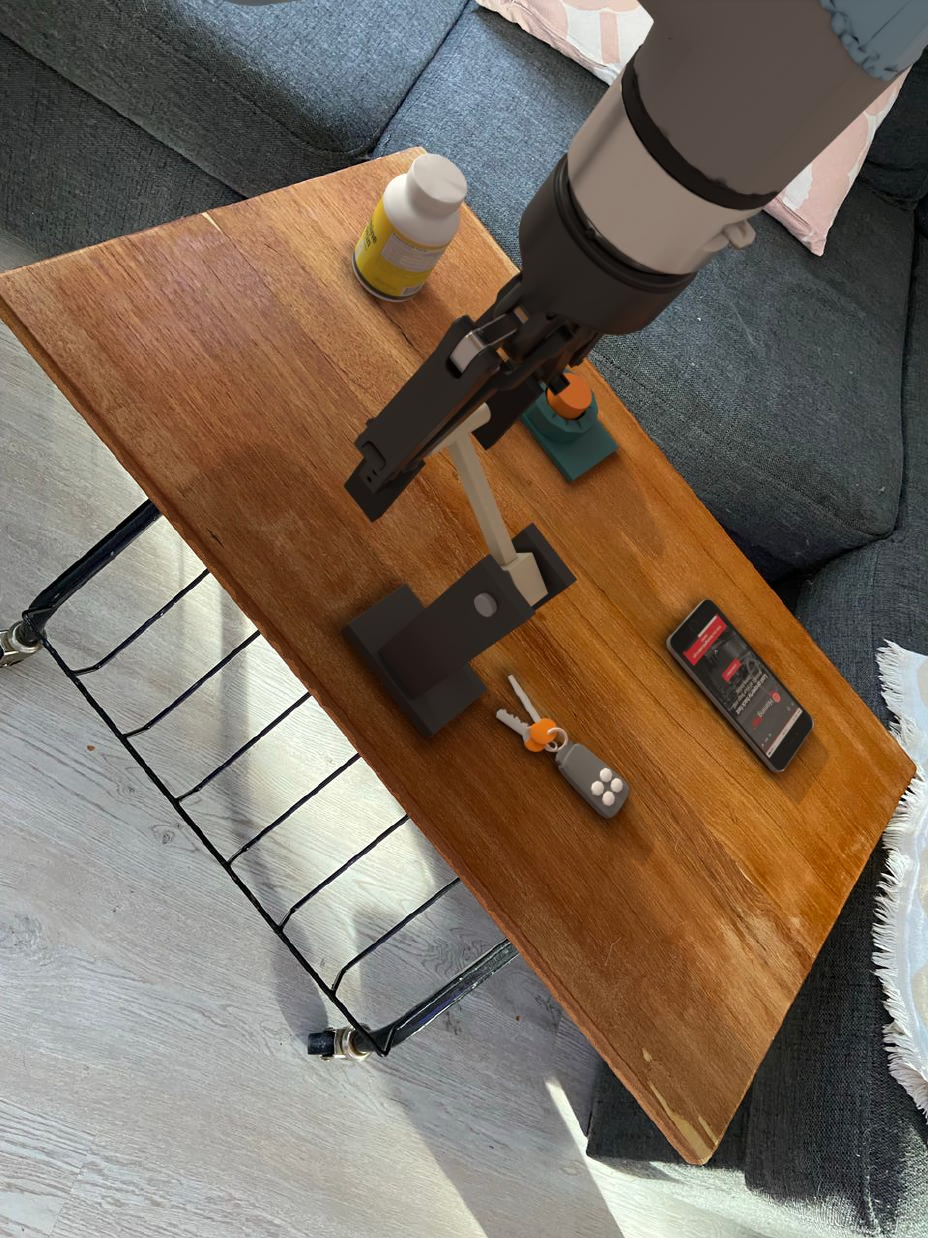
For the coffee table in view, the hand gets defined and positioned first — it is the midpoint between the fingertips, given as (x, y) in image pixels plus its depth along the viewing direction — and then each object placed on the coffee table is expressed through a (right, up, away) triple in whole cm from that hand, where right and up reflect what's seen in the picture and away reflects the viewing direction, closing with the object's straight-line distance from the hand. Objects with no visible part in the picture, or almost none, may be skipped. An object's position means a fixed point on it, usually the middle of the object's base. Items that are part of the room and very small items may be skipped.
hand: (421, 464), depth 59 cm
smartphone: (+26, -15, +27) cm, 41 cm away
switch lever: (+3, -3, -1) cm, 4 cm away
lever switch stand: (-1, -13, +13) cm, 18 cm away
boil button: (+11, +10, +26) cm, 30 cm away
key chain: (+10, -19, +16) cm, 27 cm away
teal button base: (+10, +9, +28) cm, 31 cm away
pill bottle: (-4, +20, +25) cm, 33 cm away
